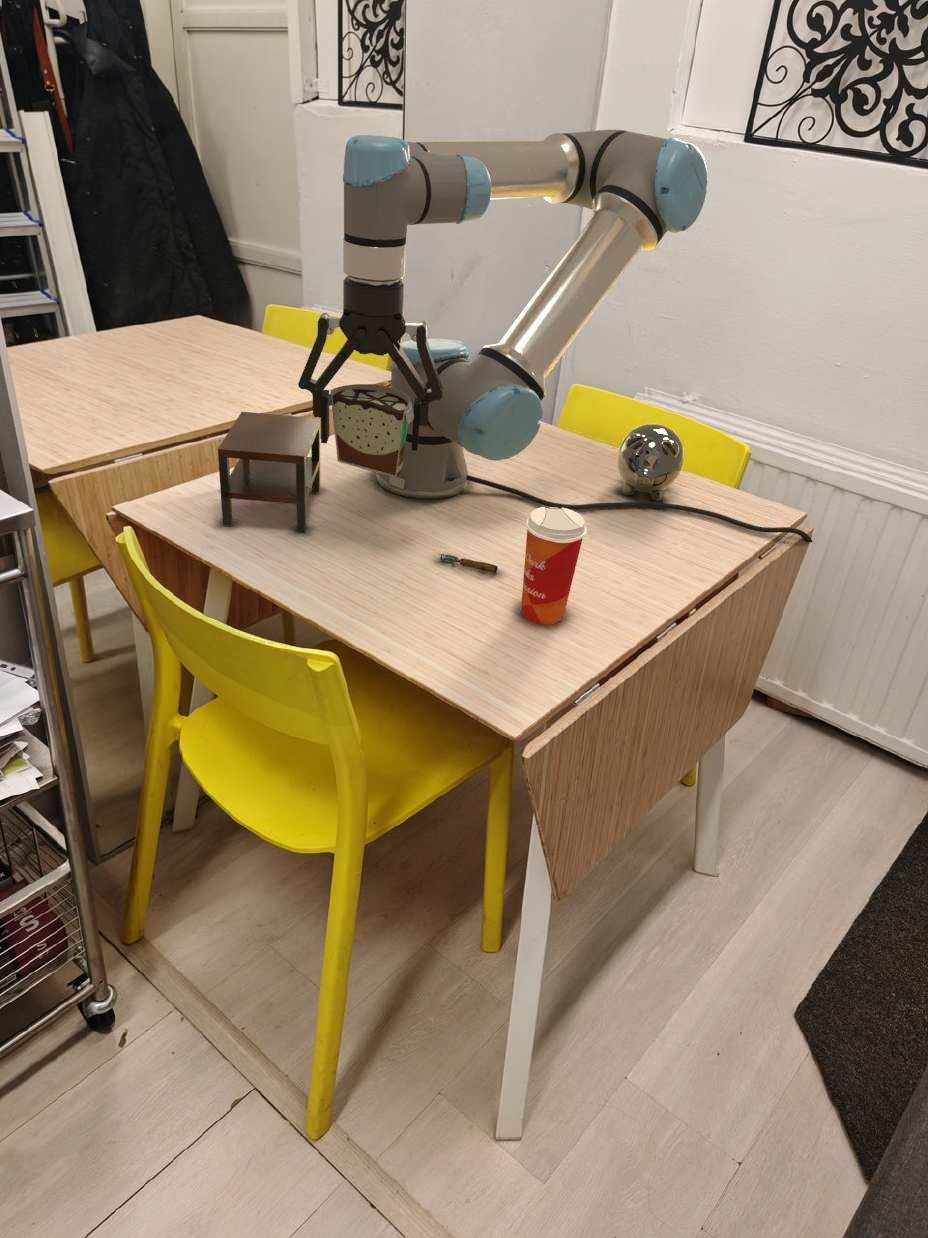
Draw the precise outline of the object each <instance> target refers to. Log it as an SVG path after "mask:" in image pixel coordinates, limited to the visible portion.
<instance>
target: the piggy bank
mask: <svg viewBox="0 0 928 1238" xmlns="http://www.w3.org/2000/svg"><path fill="white" fill-rule="evenodd" d="M685 455H686V454H685V448H684V444H683V442H682V440H681V438H680V436H679V435H678V434H677V433H676V432H675V431H674V430H673V429H672V428H670V427H667V426H666V425H662V424H659V423H645V424H642V425H638V426H637V427H635V428H633V429H631V430H630V431H629V432H628V433H627V434H626V435H624V437H623V439H622V441H621V442H620V444H619V447H618V449H617V453H616V468H617V472H618V474H619V476H620V478H621V479H622V481H623V486H622V493H623V494H624V495H626V496H630V495H633V494H634V493H635V491H639V492H643V493H649V495H650V498H651V499H652V500H653V501H656V502H658V501H661V500H662V498H663V495H664V493H665V490H666V489H667V488H669V487H670V486H672V484H674V483H675V482H676V481H677V479H678V478H679V476H680V475H681V473H682V471H683V468H684V464H685V459H686V458H685Z"/></svg>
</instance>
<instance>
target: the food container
mask: <svg viewBox="0 0 928 1238" xmlns="http://www.w3.org/2000/svg"><path fill="white" fill-rule="evenodd" d="M328 404H329V405H330V404H331V410H332V411H331V412H332V420H333V429H334V437H335V448H336V449H335V450H336V458H337V462H338V463H341V464H346V465H349V466H353V467H356V468H359V469H362V470H365V471H366V470H367V471H370V472H373V473H376V474H377V473H381V474H384V475H388V476H391V477H395V478H397V477H398V476H399V475H400V474H401V471H402V465H403V458H404V450H405V443H406V435H407V427H408V424H409V423H410V422H411V421H412V420H413V418H414V414H413V408H412V403H411V401H410V398H409V397H408V396H407V395H406V394H405V393H403V392H402V391H399V390H397V389H394V388H391V386H386V385H382V384H381V385H380V384H372V383H371V384H370V383H355V384H345V385H341V386H338V387H333V388H332V389H330V393H329V398H328Z"/></svg>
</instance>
